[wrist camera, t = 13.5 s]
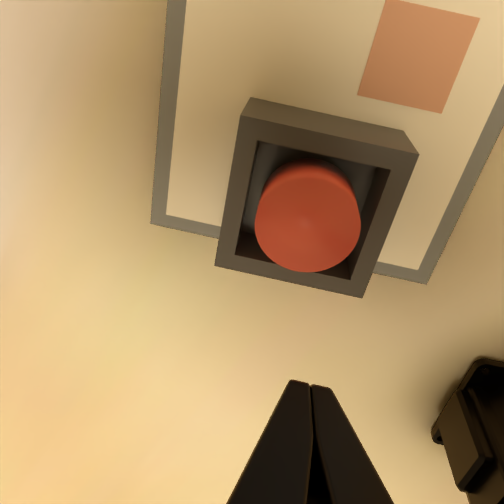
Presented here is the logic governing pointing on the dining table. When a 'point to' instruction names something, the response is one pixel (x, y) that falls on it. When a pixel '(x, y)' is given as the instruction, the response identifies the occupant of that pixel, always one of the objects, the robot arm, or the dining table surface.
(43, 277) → the dining table surface
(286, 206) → the button
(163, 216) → the colouring board
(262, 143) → the button housing
